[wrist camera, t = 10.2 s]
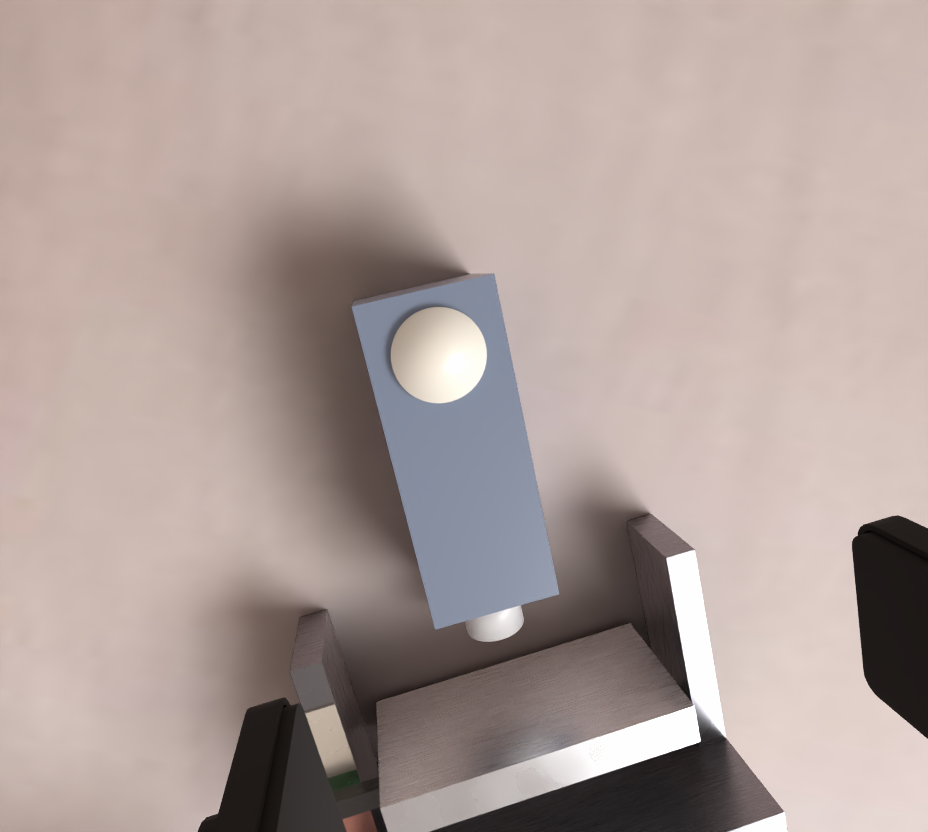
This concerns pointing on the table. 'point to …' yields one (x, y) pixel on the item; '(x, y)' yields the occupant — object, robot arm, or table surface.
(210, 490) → the table surface
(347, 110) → the table surface
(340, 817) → the robot arm
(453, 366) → the block
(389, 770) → the anvil plate
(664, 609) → the gauge frame
